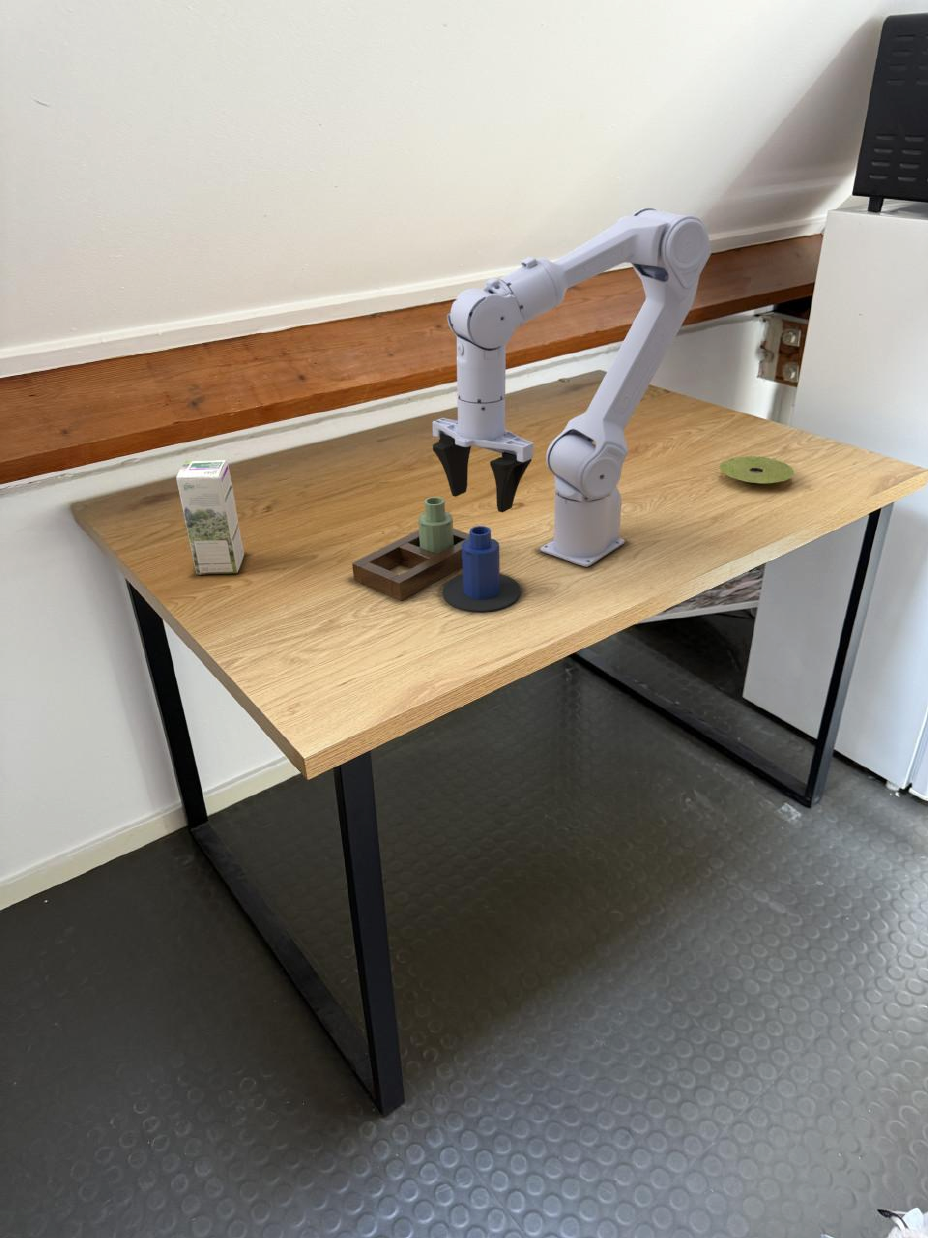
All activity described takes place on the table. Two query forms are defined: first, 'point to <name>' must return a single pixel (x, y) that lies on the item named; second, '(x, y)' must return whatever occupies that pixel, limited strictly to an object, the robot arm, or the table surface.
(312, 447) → the table surface
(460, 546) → the bottle rack
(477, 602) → the coaster
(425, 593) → the table surface
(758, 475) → the mat
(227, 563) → the syrup box
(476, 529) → the blue bottle
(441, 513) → the sage bottle
